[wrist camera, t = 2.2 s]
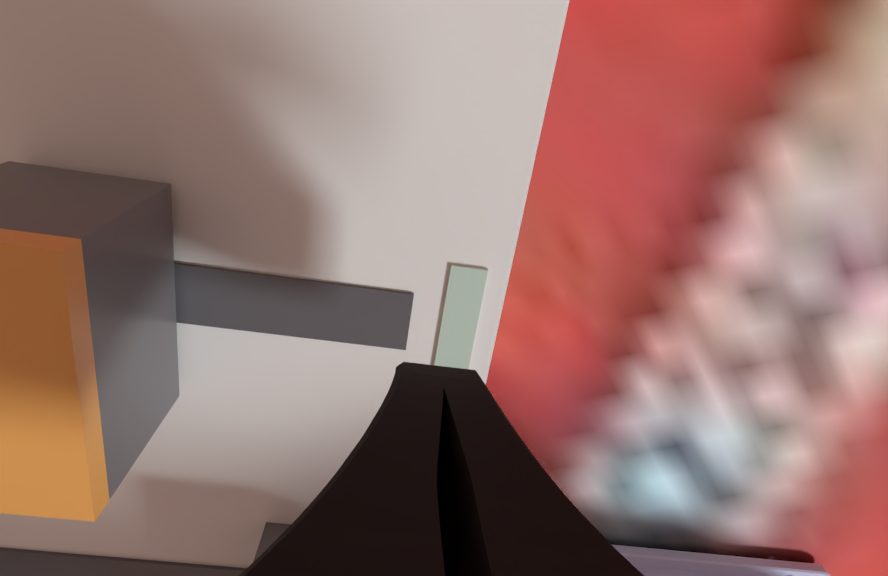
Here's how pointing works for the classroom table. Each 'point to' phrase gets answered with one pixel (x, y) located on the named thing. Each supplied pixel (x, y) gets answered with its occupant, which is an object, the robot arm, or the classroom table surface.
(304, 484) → the breaker panel
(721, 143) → the classroom table surface
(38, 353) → the lever
